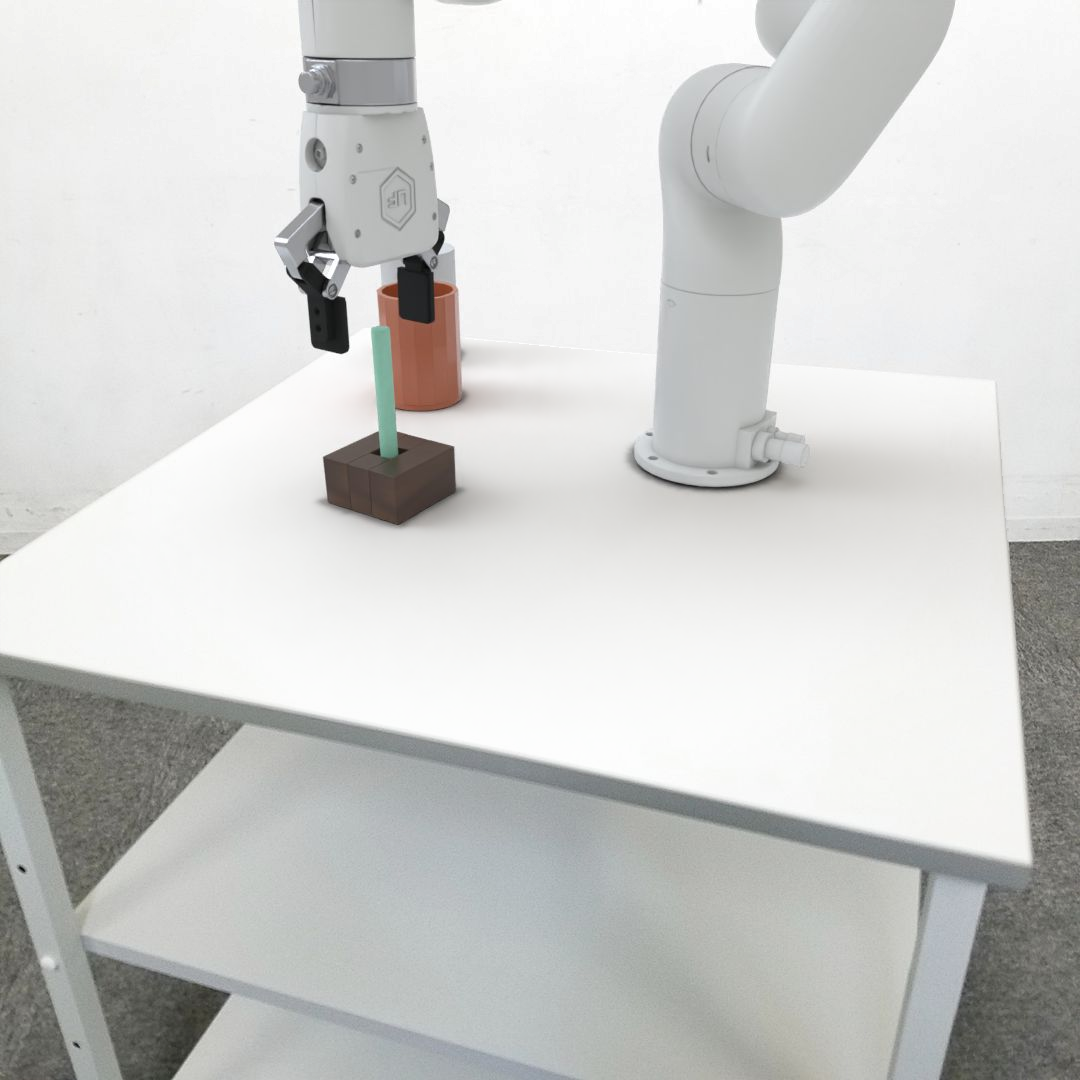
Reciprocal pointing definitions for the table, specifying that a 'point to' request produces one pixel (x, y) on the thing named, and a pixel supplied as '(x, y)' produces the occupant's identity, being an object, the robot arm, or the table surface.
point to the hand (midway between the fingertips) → (375, 334)
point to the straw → (384, 391)
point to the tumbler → (424, 350)
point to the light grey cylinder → (441, 274)
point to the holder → (390, 477)
